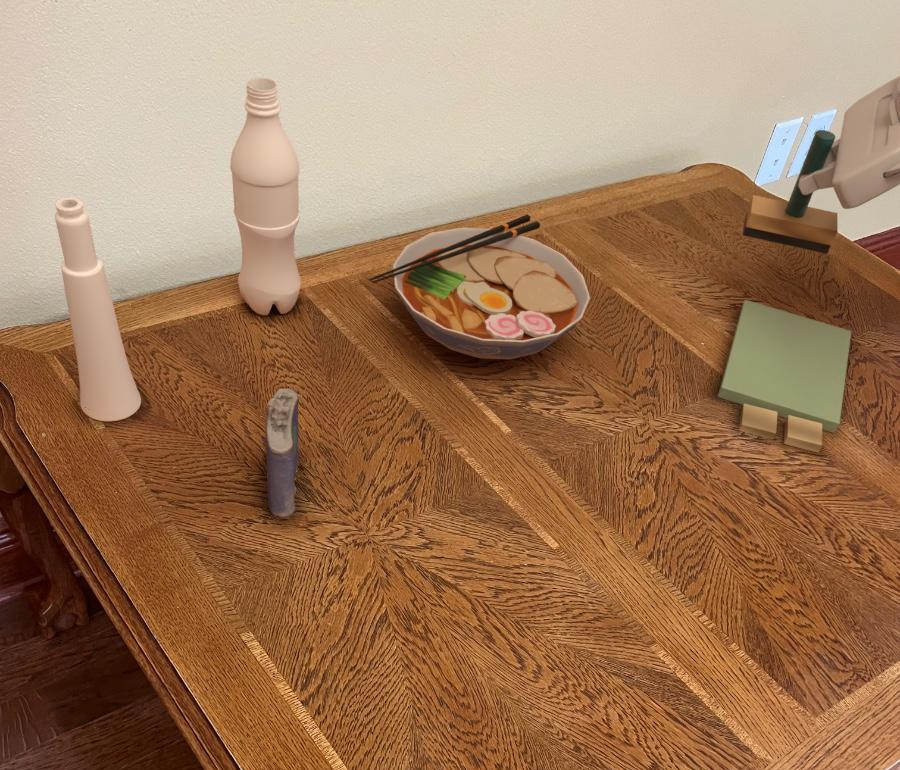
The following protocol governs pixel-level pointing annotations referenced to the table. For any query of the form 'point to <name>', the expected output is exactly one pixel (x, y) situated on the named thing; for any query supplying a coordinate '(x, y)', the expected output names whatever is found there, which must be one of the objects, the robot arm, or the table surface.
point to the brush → (796, 209)
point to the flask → (282, 452)
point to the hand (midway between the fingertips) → (802, 179)
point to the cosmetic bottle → (93, 321)
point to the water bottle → (266, 203)
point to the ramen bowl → (489, 290)
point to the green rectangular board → (787, 365)
